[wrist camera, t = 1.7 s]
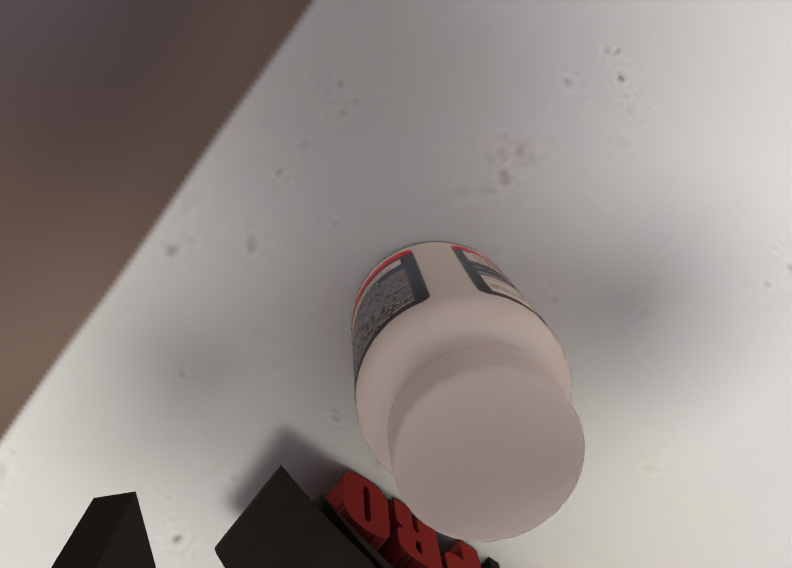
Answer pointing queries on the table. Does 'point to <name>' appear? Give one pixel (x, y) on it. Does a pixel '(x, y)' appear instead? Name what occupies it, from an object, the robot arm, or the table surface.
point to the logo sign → (334, 531)
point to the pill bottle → (463, 394)
